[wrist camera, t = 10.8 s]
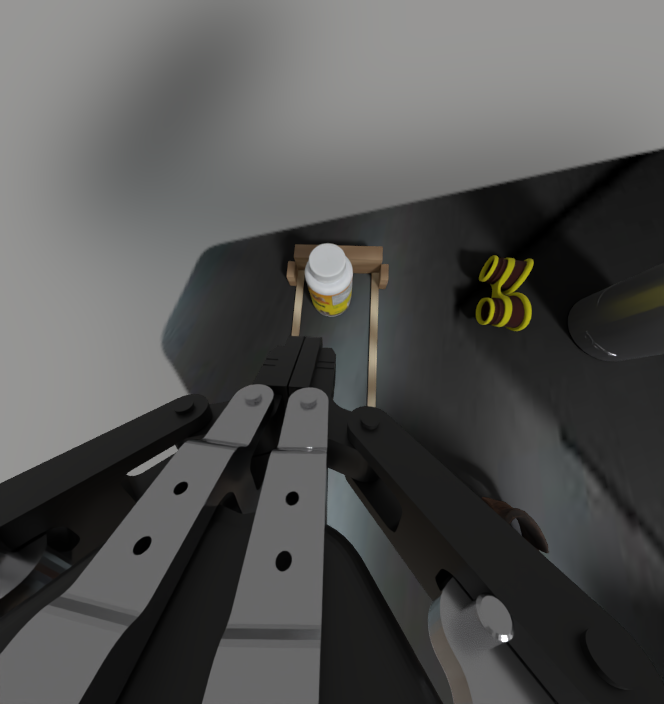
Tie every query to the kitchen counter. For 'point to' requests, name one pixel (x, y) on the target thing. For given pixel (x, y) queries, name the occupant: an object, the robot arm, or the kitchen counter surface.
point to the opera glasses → (500, 307)
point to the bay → (372, 330)
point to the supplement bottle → (329, 279)
